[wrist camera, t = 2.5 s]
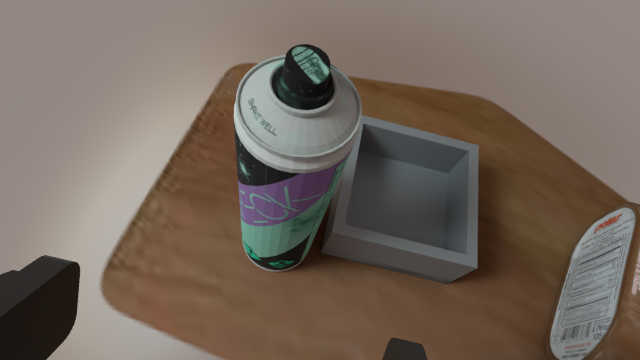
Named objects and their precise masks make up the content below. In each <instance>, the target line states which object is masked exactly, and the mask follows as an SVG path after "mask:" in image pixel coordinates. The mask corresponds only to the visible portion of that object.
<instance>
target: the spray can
mask: <svg viewBox="0 0 640 360" xmlns="http://www.w3.org/2000/svg"><path fill="white" fill-rule="evenodd" d="M361 117H362V104H361V99H360V96H359V93H358V91H357V90H356V88H355V86H354V84H353V83H352V82H351V81H350V79H349V78H348V77H347V76H346V75H345V74H343V73H342V72H341V71H340V70H339V69H338V68H336V67H334V66H333V65H331V64H330V60H329V58H328V56H327V54H326V53H325V52H324V51H322V50H321V49H319V48H317V47H315V46H312V45H308V44H302V45H297V46H294V47H292V48H291V49H290V50H289V51H288V52H287V54H286V55H282V56H278V57H273V58H270V59H268V60H265V61H263V62H261V63H259V64H258V65H256V66H254V67H253V68H252V69H251V70H250V71H249V72H248V73H247V74H246V75H245V76H244V78H243V79H242V81H241V82H240V84H239V87H238V90H237V93H236V102H235V106H234V125H235V140H236V155H237V169H238V184H239V198H240V213H241V227H242V241H243V246H244V250H245V252H246V254H247V256H248V257H249V259H250V260H251V261H252V262H253V263H254V264H255V265H256V266H258V267H259V268H261V269H264V270H266V271H271V272H282V271H287V270H290V269H292V268H294V267H295V266H297V265H299V264H300V263H301V262H302V261H303V259H304V258H305V257H306V255H307V253H308V251H309V249H310V247H311V244H312V242H313V240H314V237H315V235H316V233H317V230H318V228H319V226H320V223H321V221H322V219H323V216H324V214H325V212H326V209H327V207H328V205H329V202H330V200H331V197H332V195H333V193H334V190H335V188H336V186H337V183H338V181H339V179H340V176H341V174H342V172H343V169H344V167H345V165H346V162H347V160H348V158H349V155H350V153H351V151H352V148H353V146H354V143H355V141H356V138H357V136H358V133H359V128H360V122H361Z"/></svg>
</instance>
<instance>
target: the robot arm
mask: <svg viewBox="0 0 640 360" xmlns="http://www.w3.org/2000/svg"><path fill="white" fill-rule="evenodd" d="M79 279H80V266H79V264H78V263H77V262H73V261H68V260H64V259H60V258H56V257H51V256H47V255H44V256H41V257H39V258H38V259H36V260H35V261H33V262H32V263H30V264H29V265H27V266H26V267H24V268H23V269H21V270H20V271H15V270H12V271H9V272H6V273H3V274H1V275H0V360H46V359H47V358H48V357H49V356H50V355H51V354H52V353H53V352H54V351H55V350H56V349H57V348H58V347H59V346H60V345H61V343H62V342H63V341H64V340H65V339H66V338H67V336H68V335H69V333H70V331H71V330H72V327H73V325H74V323H75V319H76V315H77V303H78V292H79ZM382 360H427V357H426V354H425V351H424V348H423V346H422V345H421V344H419V343H414V342H410V341H406V340H402V339H397V338H391V339H390V341H389V343H388V345H387V348H386V351H385V354H384V356H383V359H382Z"/></svg>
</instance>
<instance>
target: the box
mask: <svg viewBox="0 0 640 360" xmlns="http://www.w3.org/2000/svg"><path fill="white" fill-rule="evenodd" d="M478 149H479V145H475V144H471V143H467V142H464V141H460V140H456V139H452V138H448V137H444V136H441V135H437V134H433V133H429V132H425V131H421V130H418V129H414V128H410V127H406V126H402V125H398V124H395V123H391V122H387V121H383V120H379V119H375V118H372V117H368V116H364V115H362V117H361V122H360V128H359V133H358V136H357V138H356V141H355V143H354V146H353V148H352V151H351V153H350V155H349V158H348V160H347V162H346V165H345V167H344V169H343V172H342V174H341V176H340V179H339V181H338V183H337V186H336V188H335V190H334V193H333V197H332V202H331V207H330V212H329V216H328V221H327V226H326V231H325V236H324V240H323V245H322V250H321V253H323V254H327V255H331V256H335V257H339V258H343V259H347V260H351V261H355V262H359V263H364V264H368V265H372V266H376V267H380V268H384V269H388V270H392V271H396V272H400V273H404V274H408V275H412V276H417V277H421V278H425V279H429V280H433V281H437V282H441V283H445V284H448V283H450V282H452V281H453V280H455V279H457V278H459V277H461V276H463V275H465V274H467V273H469V272H471V271H473V270H475V269H477V264H478Z"/></svg>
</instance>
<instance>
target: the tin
mask: <svg viewBox="0 0 640 360" xmlns="http://www.w3.org/2000/svg"><path fill="white" fill-rule="evenodd" d="M546 353H547V356H548V359H549V360H640V205H639V204H636V203H632V202H626V203H623V204H622V205H619V206H617V207H615V208H614V209H612V210H610V211H609V212H607V213H606V214H604V215H602V216H601V217H599V218H597V219H596V220H594V221H593V222H592V223H591V224H590V225H589V226H588V228H587V229H586V230H585V231H584V233H583V234H582V235H581V237H580V238H579V240H578V241H577V243H576V245H575V247H574V249H573V251H572V253H571V256H570V258H569V262H568V265H567V268H566V271H565V274H564V277H563V280H562V284H561V287H560V290H559V293H558V296H557V300H556V303H555V306H554V309H553V313H552V316H551V320H550V323H549V326H548V330H547V335H546Z"/></svg>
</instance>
